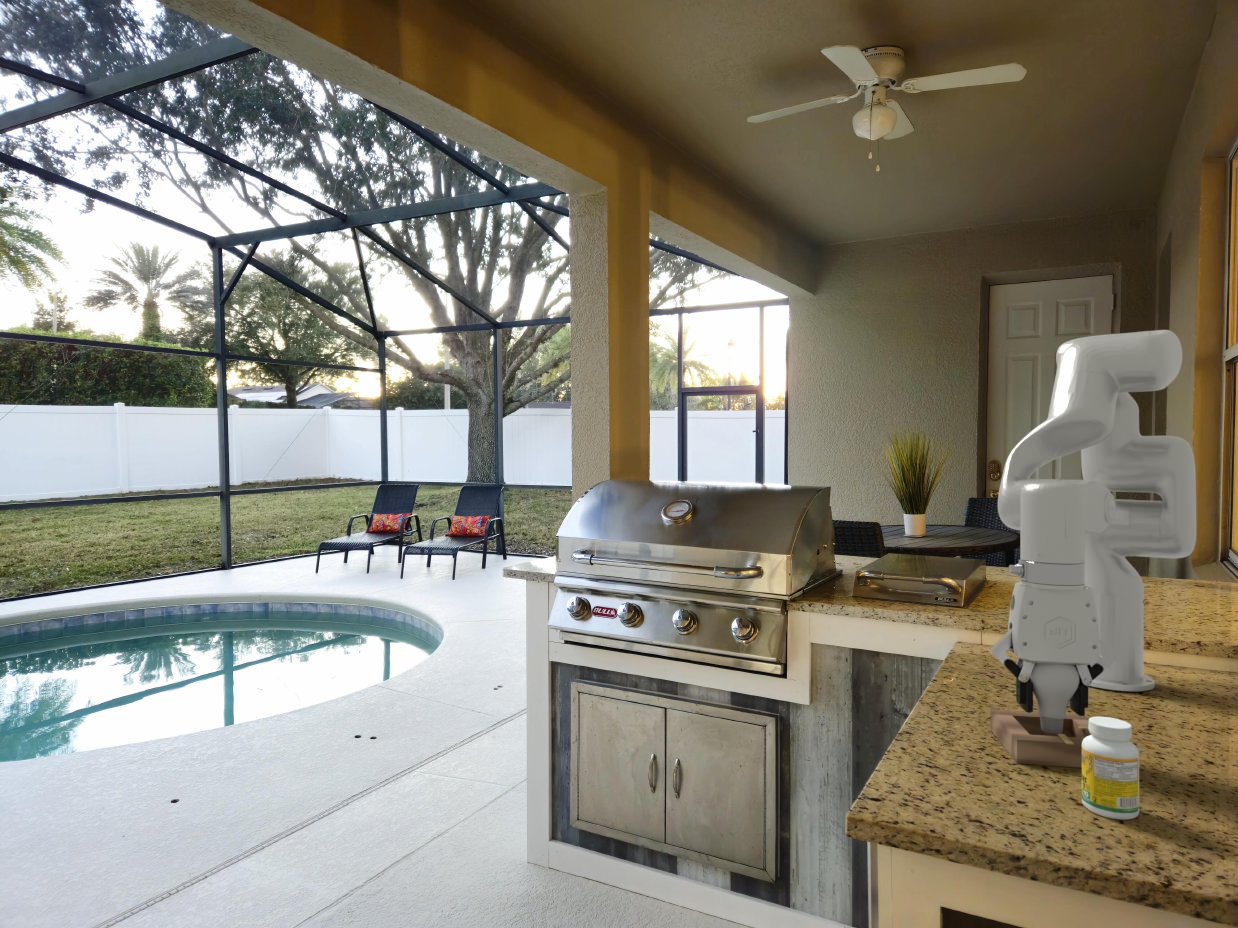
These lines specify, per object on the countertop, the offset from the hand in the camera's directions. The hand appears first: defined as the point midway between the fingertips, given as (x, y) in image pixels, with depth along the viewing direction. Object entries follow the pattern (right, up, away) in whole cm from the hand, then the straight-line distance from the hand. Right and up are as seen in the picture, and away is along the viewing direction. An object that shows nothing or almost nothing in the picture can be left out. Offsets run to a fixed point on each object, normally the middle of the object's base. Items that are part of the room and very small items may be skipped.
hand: (1051, 709), depth 102 cm
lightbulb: (0, -4, 0) cm, 4 cm away
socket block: (0, -5, 0) cm, 5 cm away
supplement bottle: (-3, -6, -18) cm, 19 cm away
